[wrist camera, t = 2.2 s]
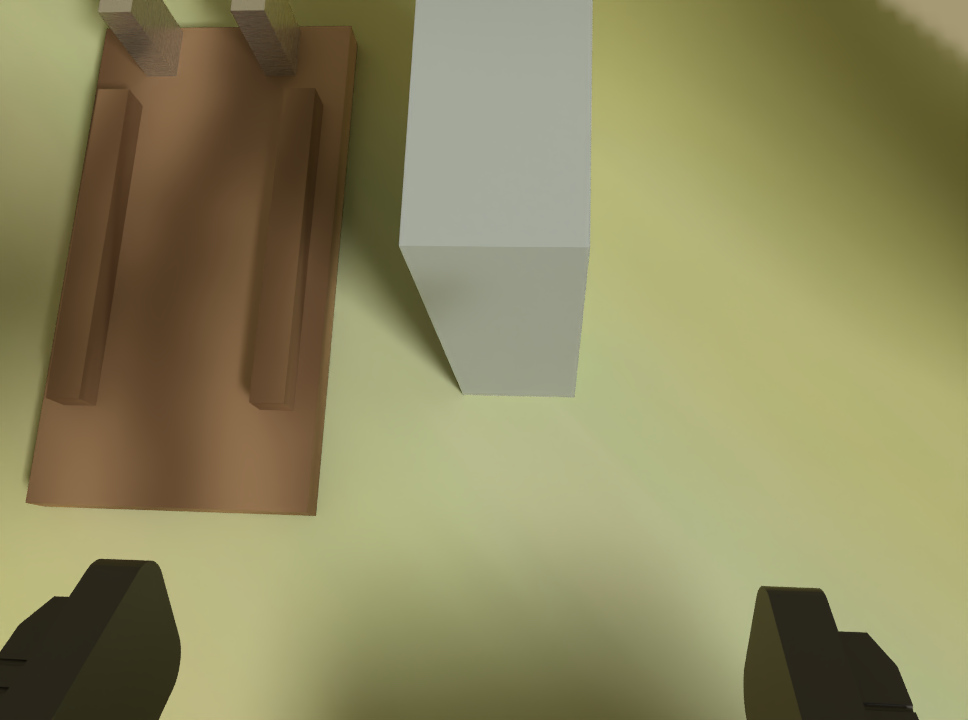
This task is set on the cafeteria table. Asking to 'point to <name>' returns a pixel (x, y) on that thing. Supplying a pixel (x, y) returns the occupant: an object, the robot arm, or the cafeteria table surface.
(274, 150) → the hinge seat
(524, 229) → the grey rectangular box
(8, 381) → the cafeteria table surface
